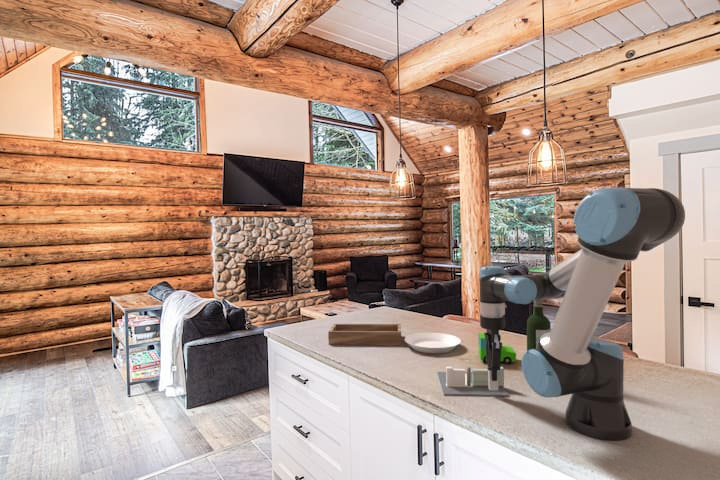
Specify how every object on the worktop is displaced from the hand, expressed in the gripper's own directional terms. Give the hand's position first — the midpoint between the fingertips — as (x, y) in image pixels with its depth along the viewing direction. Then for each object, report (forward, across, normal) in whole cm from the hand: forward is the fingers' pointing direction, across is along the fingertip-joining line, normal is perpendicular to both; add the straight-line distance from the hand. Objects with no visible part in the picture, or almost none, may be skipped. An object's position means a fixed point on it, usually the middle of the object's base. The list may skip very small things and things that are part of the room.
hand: (493, 389), depth 126 cm
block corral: (+2, +63, +45) cm, 78 cm away
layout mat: (+2, +9, +6) cm, 11 cm away
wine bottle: (+2, +19, -20) cm, 28 cm away
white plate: (+3, +52, +14) cm, 54 cm away
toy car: (+2, +34, -10) cm, 36 cm away
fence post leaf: (+2, +6, +10) cm, 12 cm away
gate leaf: (+1, +6, 0) cm, 6 cm away
